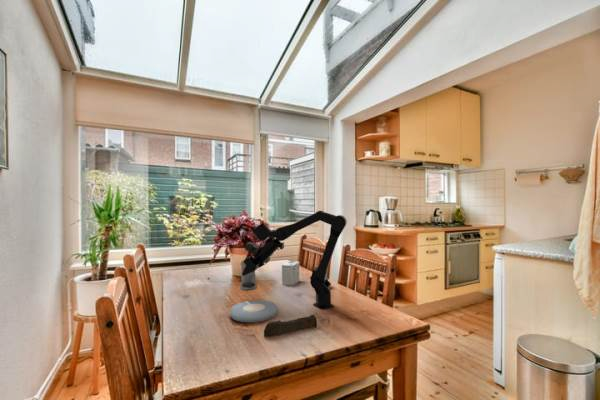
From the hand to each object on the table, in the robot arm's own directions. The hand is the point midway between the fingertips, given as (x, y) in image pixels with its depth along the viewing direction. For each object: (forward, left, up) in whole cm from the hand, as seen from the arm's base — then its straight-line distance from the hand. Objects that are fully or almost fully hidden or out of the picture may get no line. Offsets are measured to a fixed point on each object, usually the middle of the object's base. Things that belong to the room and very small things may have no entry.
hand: (245, 273), depth 127 cm
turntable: (-17, +3, -12) cm, 21 cm away
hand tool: (-38, -2, -13) cm, 40 cm away
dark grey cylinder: (-1, -1, -7) cm, 7 cm away
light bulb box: (+13, -31, -13) cm, 36 cm away
